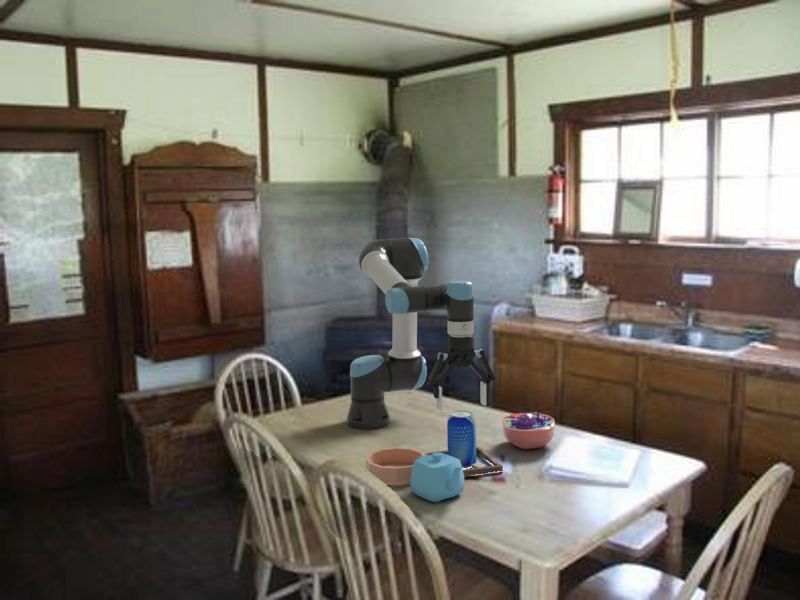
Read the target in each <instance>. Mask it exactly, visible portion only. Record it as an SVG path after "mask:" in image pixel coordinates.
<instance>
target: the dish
mask: <svg viewBox="0 0 800 600" xmlns="http://www.w3.org/2000/svg"><path fill="white" fill-rule="evenodd" d="M424 453H425V452H424V451H421V450H418V449H415V448H411V447H410V448H407V447H397V446H396V447H388V448H381V449H378V450H376V451H372V452H370V453H369V454H368V455H367V456H366V458H365V470H366V469H367V470H368V471H369V472H371V473H372V474H373V475H375V476H376V477H377V478H379V479H380V480H381V481H383V482H384V483H385V484H387V485H389V486H388V487H404V486H411V473H412V469H413V465H414V461H415V460H417V459H418V458H419V457H420V456H423V455H425V454H424ZM425 456H426V455H425Z"/></svg>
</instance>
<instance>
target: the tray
mask: <svg viewBox="0 0 800 600" xmlns="http://www.w3.org/2000/svg"><path fill="white" fill-rule="evenodd" d="M423 453H424V454H425V455H426V456H428V455H432V454H433V453H444V454H447V455H448V449H447V450H439V451H431V452H423ZM476 455H478V456H479V457H480V458H481V457H482V458H484V459H486V460H488V461H489V462H490V463H492V464H493V465H494V466H491V465H489V466H487V467H482V468H474V469H466V470H463V474H464V479H465V478H466V477H468V476H470V475H475V474H482V473H483V474H485V473H488V472H494V471H495V472H497V471H503V472H504V466H503V465H502V464H501V463H499V462H498V461H497V460H496V459H494V458H493V456H491V455H490V454H489V453H487V452H486V450H484V449H483V448H481V446H476ZM482 458H481V459H482ZM484 459H483V460H484ZM468 478H469V477H468ZM466 479H467V478H466Z"/></svg>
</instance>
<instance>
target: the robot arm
mask: <svg viewBox="0 0 800 600" xmlns="http://www.w3.org/2000/svg"><path fill="white" fill-rule="evenodd" d="M358 266H359V269H360V270H361V272H362V273H363V274H364V276H366V277H367V278H369V279H372V281H373V282H374V283H375V284H376V285H377V286H378V287H379V289H380V290H381V291H382V292H383V294H384V295H385V297H384V298H385V306H386V309H387V312H388V313H390V314H391V315H392V336H391V337H392V341H391V342H392V343H391V344H392V346H391V347H392V348H391V349H390V350H388V351H387V352H388V353H387V358H384V357H383V356H382V355H381V354H371V355H370V354H369V355H363V356H360V357H357V358H356V359H354V360H353V361H352V362H351V363H350V367H349V368H350V370H349V378H350V405H349V408H348V412H347V416H346V425H347V426H348V427H351V428H354V429H361V430H373V429H379V428H383V427H386V426H388V425H389V424H390V423H391V420H390V417H391V416H390V413H389V410H388V407H387V405H386V402H385V393H391V392H400V391H412V390H415V389H416V390H417V389H420V388H422V387H423V385H424V384H425V382H426V385H428V386H429V387H433V398H435V399H436V409H437V410H439V411H442V410H443V388H442V386H441V385H442V384H443V382H444V381H445V380H446V379H447V377H448V376H449V375H450V373H451V372H452V371H453V370H454V369H455V368H462V367H463V368H468V366H469V367H470V368H471V369H472V371H474V372H475V373H476V374H477V376H479V378H480V379H481V380H482V381H480V386H479V387H480V389H479V391H480V394H479V395H480V396H479V397H480V404H481V405H482V406H487V394H489V393H490V384H491V382H492V381H495V380H496V376H495V374H494V372H493V370H492V368H491V366H490V364H489V362H488V361H487V359H486V351H484V350H483V349H482V348H478V349H477V350H475V336H474V335H473V334H474V331H475V330H474V328H475V326H474V296H475V294H474V286H473V283H472V281H469V280H451V281H448V283H438V284H435V285H425V286H418V282H419V281H421V279H422V278H423V273H424V272H427V270H428V267H429V254H428V251H427V248H426V246H425V244H424V242H423V241H422V239H420V238H416V237H415V238H414V237H402V238H401V237H400V238H399V237H398V238H385V239H383V238H382V239H381V238H379V239H375V240H373V241H370V242H369V243H367V244H366V245H365V246H364V247H363V248H362V250H361V251H360V254H359V256H358ZM438 311H439V312H441V311H446V313H447V314H446V315H447V316H446V318H447V319H446V320H447V334H448V335H447V352H446V353H445V352H444V353H442V352H440V351H439V352H437V353H436V361H435V363H434V365H433V368H432V370H431V372H430V374H429V376H428V379H427V373H428V372H427V371H428V368H427V367H428V365H427V360H426V359H425V357H424V356H423V355H422V353H421V350H419V349H418V348H417V347H418V343H417V342H418V313H423V312H424V313H425V312H438ZM475 357H477V358H478V359H479V362H480V364H481V365H482V368H483V369H484V371H482V370H481V368H480V367H479V366H478V364H476V362H475V361H474V359H475ZM447 359H448V361H447V362H446V364H445V367H444V368H443V369H442V366H443V364H444V361H446V360H447ZM441 369H442V371H441ZM440 371H441V372H440ZM484 372H485V373H486V375H487V376H486V375H485V373H484ZM426 379H427V381H426Z"/></svg>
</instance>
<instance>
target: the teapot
mask: <svg viewBox="0 0 800 600" xmlns="http://www.w3.org/2000/svg"><path fill="white" fill-rule="evenodd" d="M462 468H464V467H462V466H461V463H460V460H459V459H457V458H455V457H452V456H450V455H447V454H444V453H433V454H432V455H428V456H425V455H423V456H420V457H419V458H418V459H417V460H415V461H414V465H413V469H412V473H411V485H410V489H411V491H412V494H415V495H417V496H419V497H420V498H423V499H424V500H427V501H429V502H433V503H440V502H441V501H442V500H447V499H450V498H455V497H456V496H458V495H460V494H461V493H463V491H464V489H465V485H466V484H465V478H464V474H463V470H462Z"/></svg>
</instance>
